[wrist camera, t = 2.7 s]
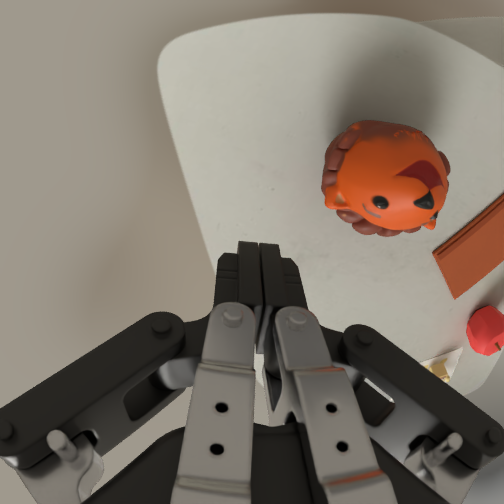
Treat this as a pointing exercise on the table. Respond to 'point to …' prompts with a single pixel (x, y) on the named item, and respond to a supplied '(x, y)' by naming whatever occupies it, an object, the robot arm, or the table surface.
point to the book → (473, 250)
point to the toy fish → (385, 178)
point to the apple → (486, 330)
